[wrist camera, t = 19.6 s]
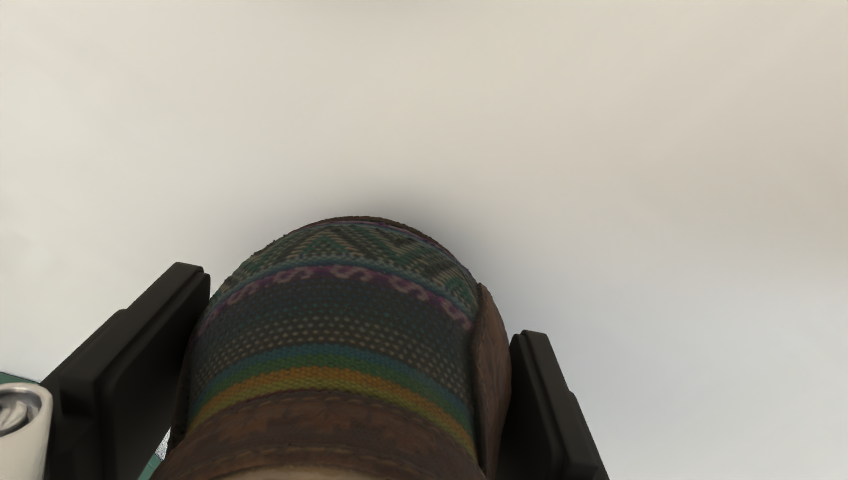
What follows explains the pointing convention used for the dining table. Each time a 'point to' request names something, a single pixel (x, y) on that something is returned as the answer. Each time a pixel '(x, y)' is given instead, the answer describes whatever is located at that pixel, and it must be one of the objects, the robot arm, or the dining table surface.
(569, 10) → the dining table surface
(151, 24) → the dining table surface
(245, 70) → the dining table surface
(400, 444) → the mate gourd
